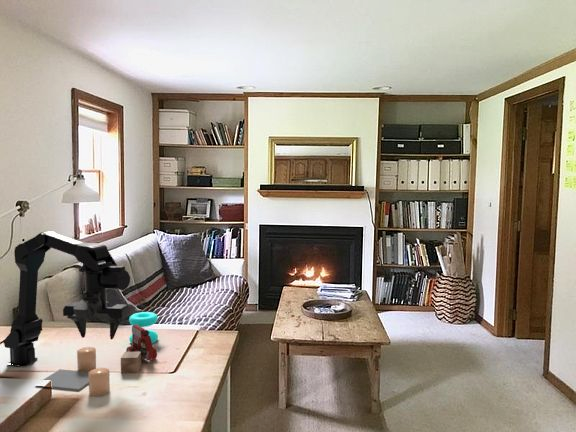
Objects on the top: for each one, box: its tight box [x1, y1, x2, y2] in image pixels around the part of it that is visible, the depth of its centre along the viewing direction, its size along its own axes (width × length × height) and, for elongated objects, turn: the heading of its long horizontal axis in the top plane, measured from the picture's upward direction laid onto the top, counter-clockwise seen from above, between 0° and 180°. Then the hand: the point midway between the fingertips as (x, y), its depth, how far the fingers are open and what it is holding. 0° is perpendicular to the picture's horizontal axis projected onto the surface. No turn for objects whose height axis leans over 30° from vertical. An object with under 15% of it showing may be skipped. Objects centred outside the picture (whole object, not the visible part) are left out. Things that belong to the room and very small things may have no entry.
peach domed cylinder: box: [76, 346, 97, 372], centre depth 152 cm, size 5×5×6 cm
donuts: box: [128, 311, 159, 344], centre depth 176 cm, size 10×10×10 cm
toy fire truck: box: [125, 325, 158, 363], centre depth 160 cm, size 7×12×10 cm, turn 42°
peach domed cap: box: [88, 367, 111, 398], centre depth 136 cm, size 5×5×6 cm
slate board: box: [42, 368, 89, 392], centre depth 143 cm, size 14×11×1 cm
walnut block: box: [120, 351, 142, 374], centre depth 151 cm, size 5×5×5 cm
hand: (97, 338), depth 145 cm, fingers open, 9 cm apart
